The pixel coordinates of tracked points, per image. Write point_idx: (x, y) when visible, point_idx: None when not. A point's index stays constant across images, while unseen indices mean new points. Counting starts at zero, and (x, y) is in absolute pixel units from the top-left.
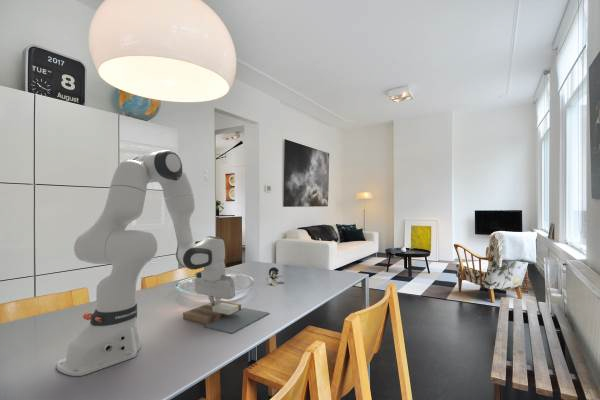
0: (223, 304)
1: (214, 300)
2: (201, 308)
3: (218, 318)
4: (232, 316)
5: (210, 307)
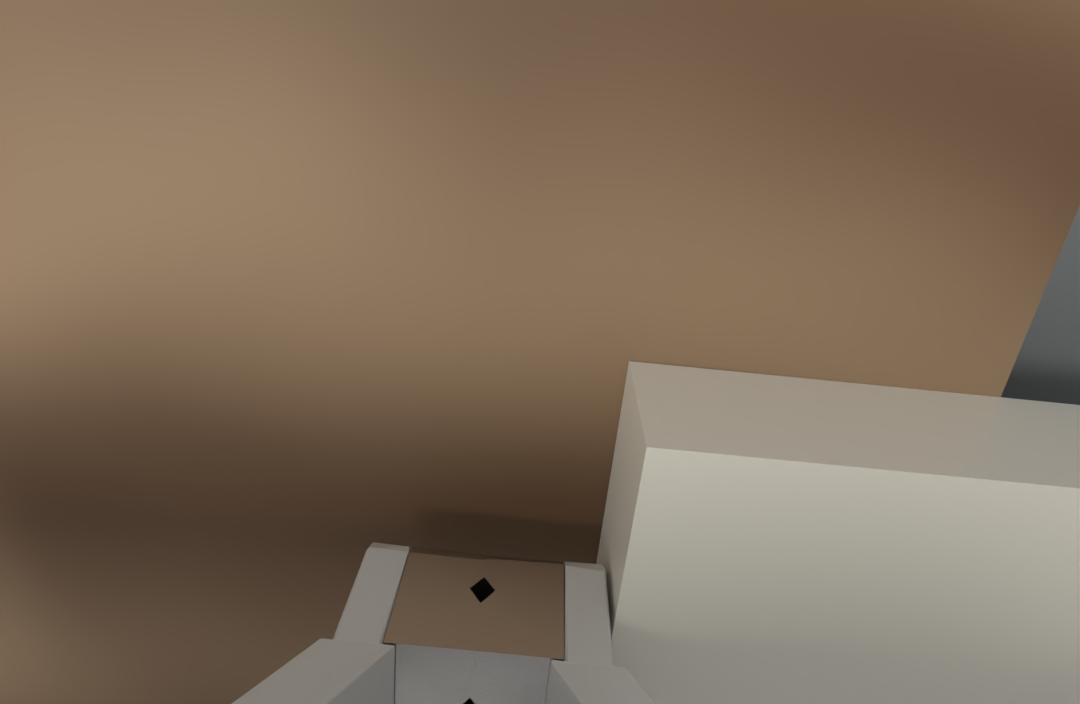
0: (827, 604)
1: (362, 672)
2: (142, 643)
3: None
4: None
5: (292, 507)
